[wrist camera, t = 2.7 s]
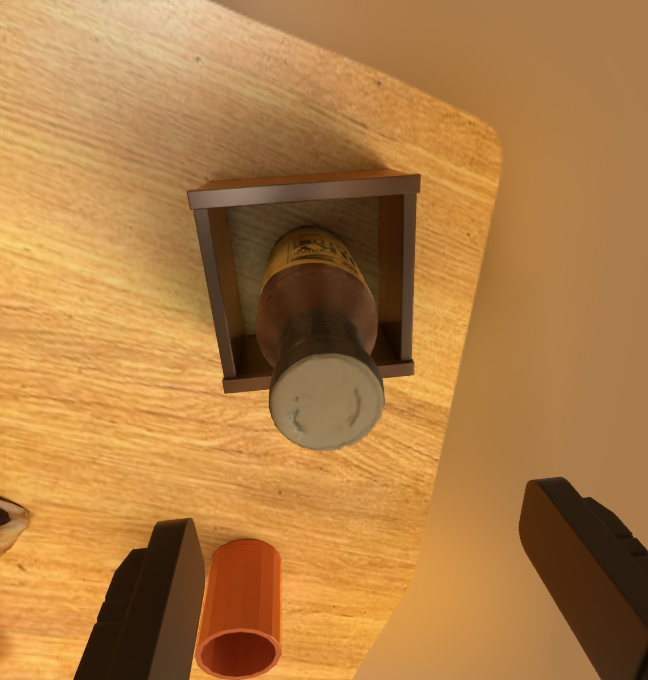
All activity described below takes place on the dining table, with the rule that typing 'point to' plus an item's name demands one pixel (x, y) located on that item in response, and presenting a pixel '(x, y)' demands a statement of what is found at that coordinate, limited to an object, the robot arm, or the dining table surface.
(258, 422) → the dining table surface
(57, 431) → the dining table surface
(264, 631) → the cup
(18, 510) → the pastry
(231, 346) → the brown wooden box
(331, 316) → the sauce bottle
